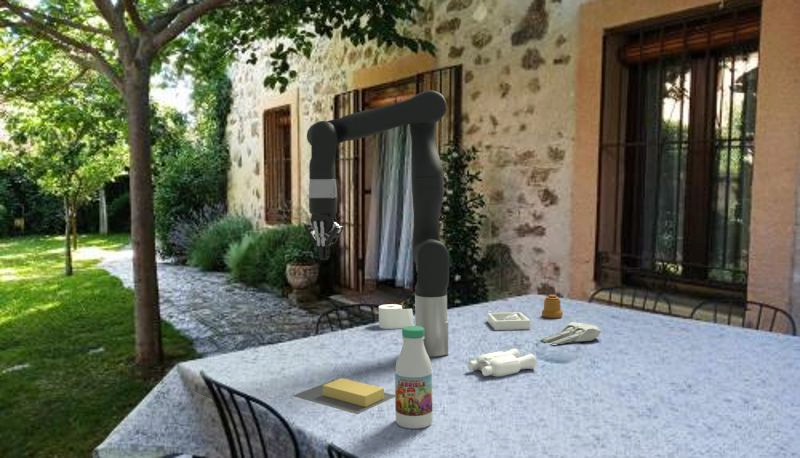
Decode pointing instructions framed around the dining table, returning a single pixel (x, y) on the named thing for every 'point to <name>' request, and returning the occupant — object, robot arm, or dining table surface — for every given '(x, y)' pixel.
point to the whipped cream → (512, 317)
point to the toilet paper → (394, 316)
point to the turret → (574, 334)
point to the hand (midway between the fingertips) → (324, 259)
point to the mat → (317, 396)
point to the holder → (508, 321)
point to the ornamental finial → (552, 307)
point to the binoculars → (502, 363)
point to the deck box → (353, 392)
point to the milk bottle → (413, 381)
